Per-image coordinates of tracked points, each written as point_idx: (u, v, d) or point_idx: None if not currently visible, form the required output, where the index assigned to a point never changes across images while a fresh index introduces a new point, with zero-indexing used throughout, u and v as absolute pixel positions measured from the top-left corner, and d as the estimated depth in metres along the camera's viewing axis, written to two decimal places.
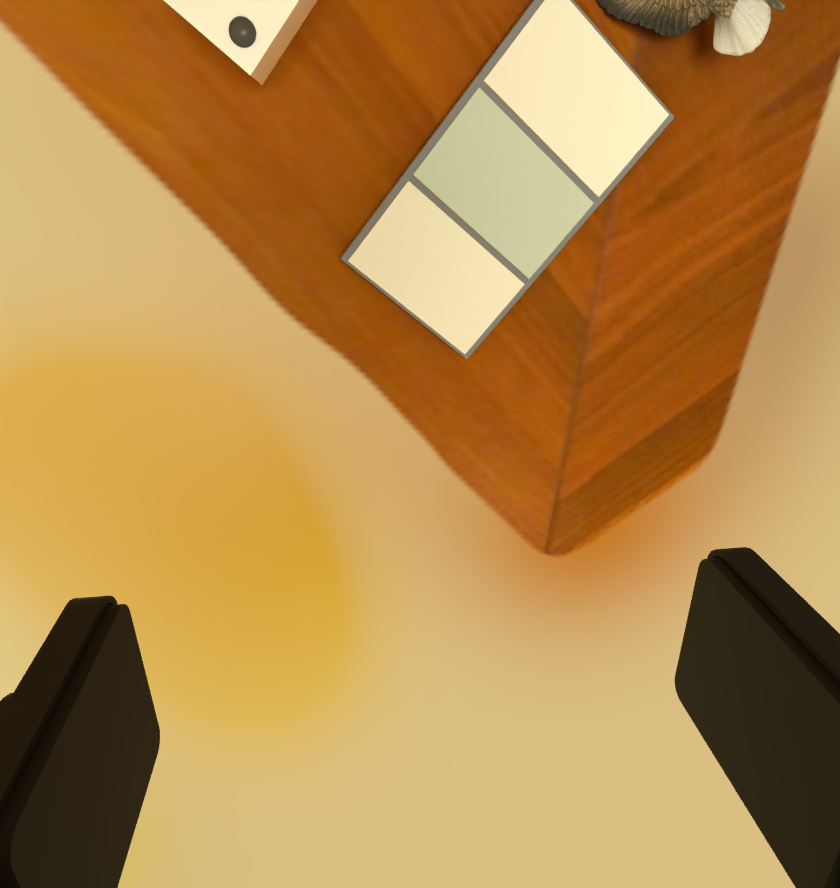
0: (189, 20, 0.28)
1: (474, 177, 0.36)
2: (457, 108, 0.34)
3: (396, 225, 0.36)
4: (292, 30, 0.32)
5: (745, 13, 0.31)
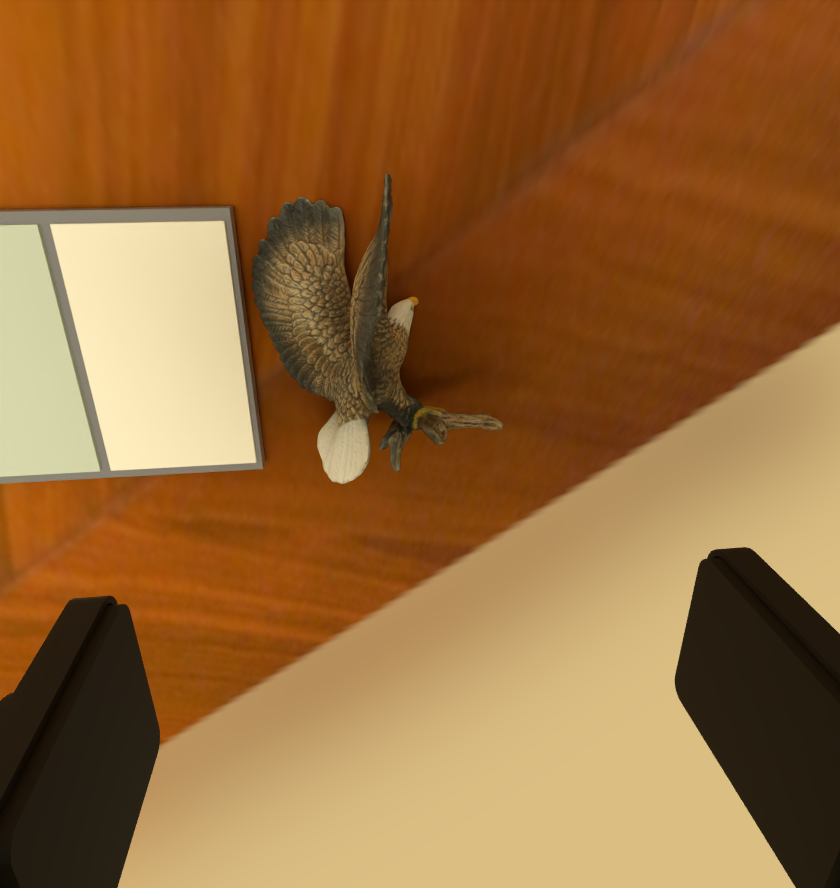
0: None
1: None
2: None
3: None
4: None
5: (351, 439, 0.22)
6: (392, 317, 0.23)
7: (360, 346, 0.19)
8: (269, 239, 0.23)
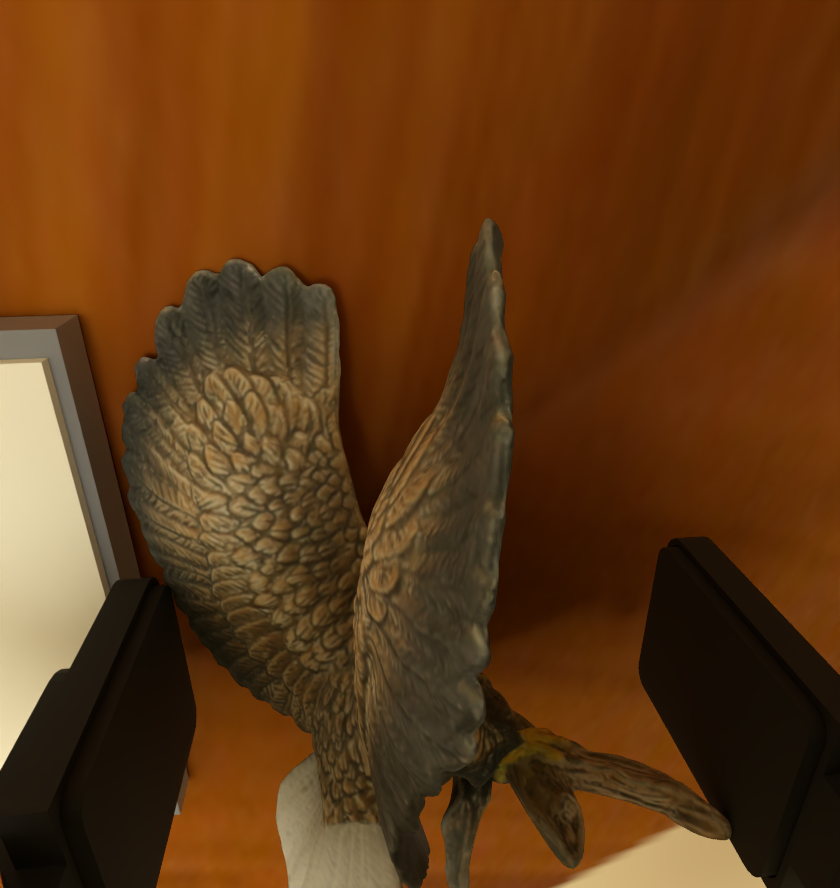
0: None
1: None
2: None
3: None
4: None
5: (353, 865, 0.09)
6: None
7: (388, 782, 0.06)
8: (159, 359, 0.09)
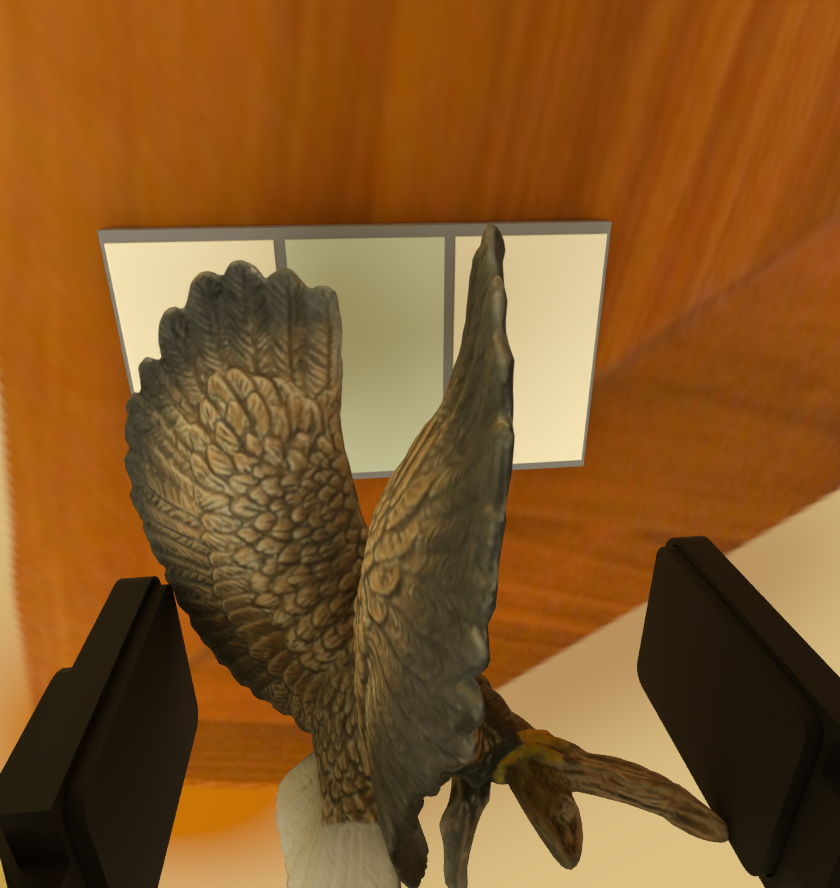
0: None
1: (350, 317, 0.23)
2: (401, 230, 0.22)
3: (209, 270, 0.22)
4: None
5: (352, 865, 0.09)
6: None
7: (387, 782, 0.06)
8: (163, 360, 0.09)
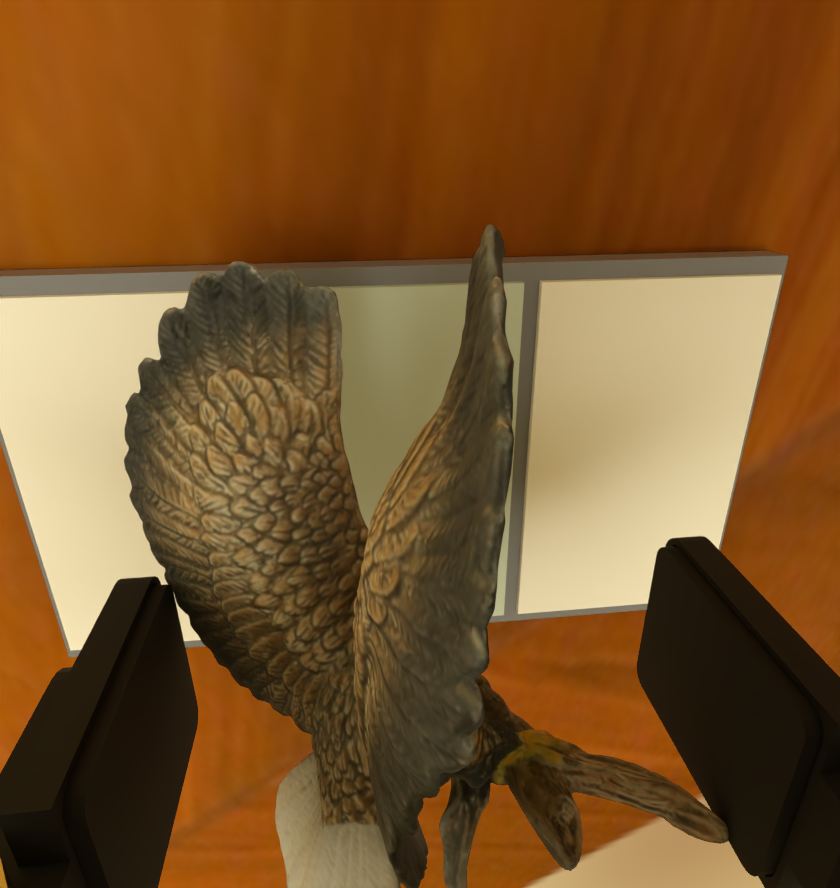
0: None
1: (369, 408, 0.15)
2: (454, 273, 0.14)
3: (140, 340, 0.13)
4: None
5: (351, 866, 0.09)
6: None
7: (386, 782, 0.06)
8: (162, 360, 0.09)
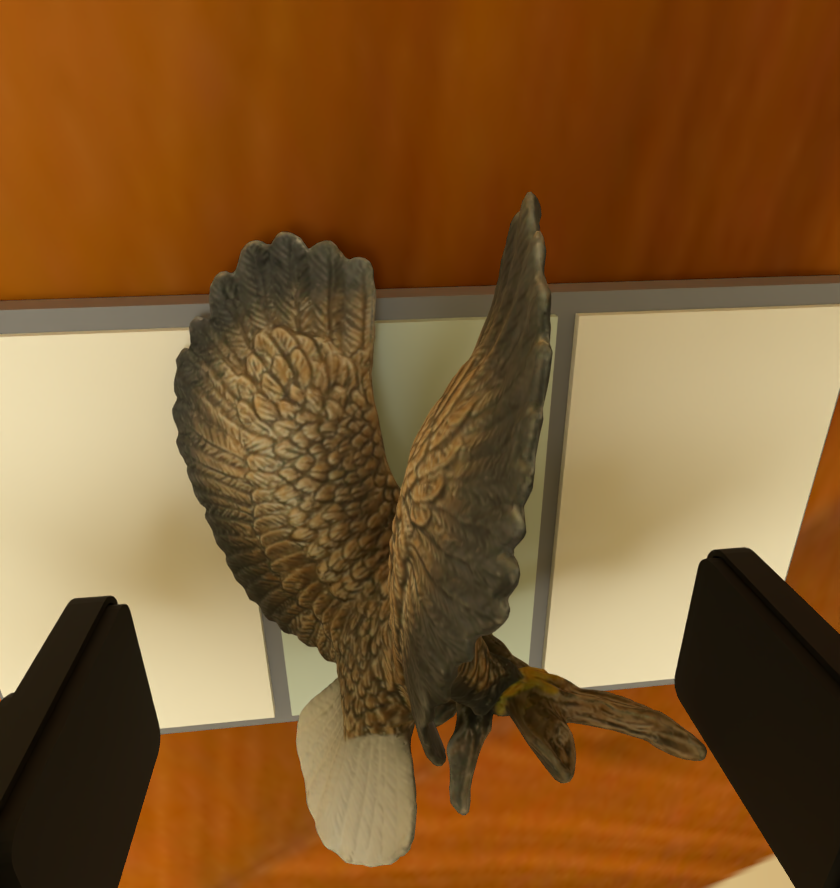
0: None
1: None
2: (474, 305, 0.11)
3: (92, 388, 0.11)
4: None
5: (371, 774, 0.10)
6: None
7: (424, 660, 0.07)
8: (212, 318, 0.10)
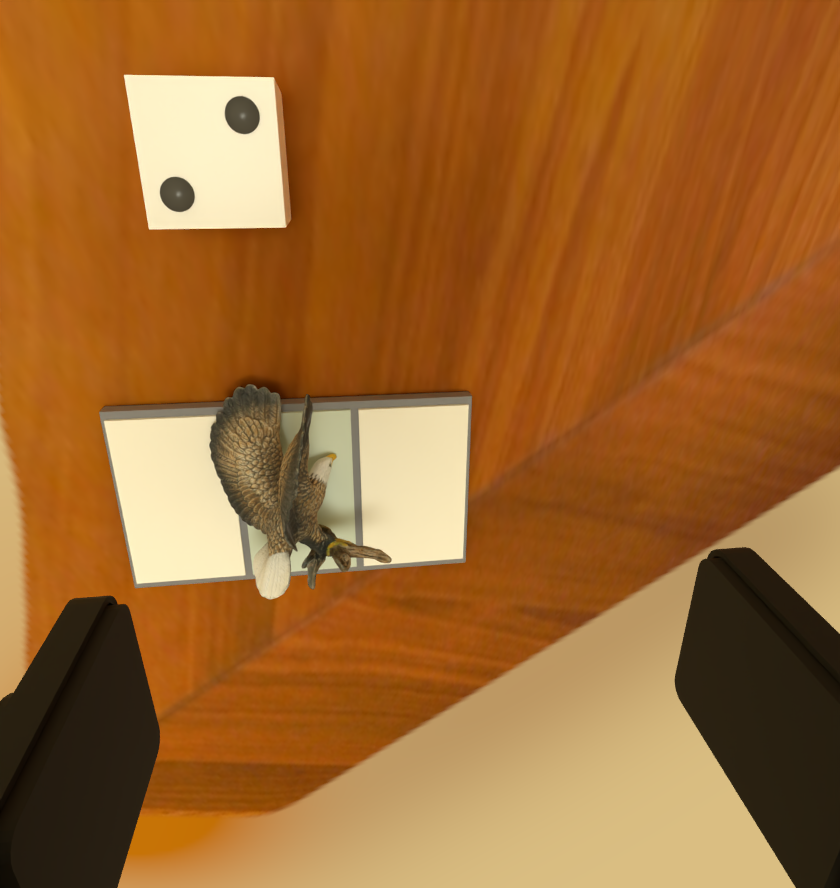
0: (135, 133, 0.22)
1: None
2: (319, 406, 0.31)
3: (179, 436, 0.31)
4: None
5: (277, 566, 0.30)
6: (314, 473, 0.31)
7: (283, 511, 0.27)
8: (224, 413, 0.30)
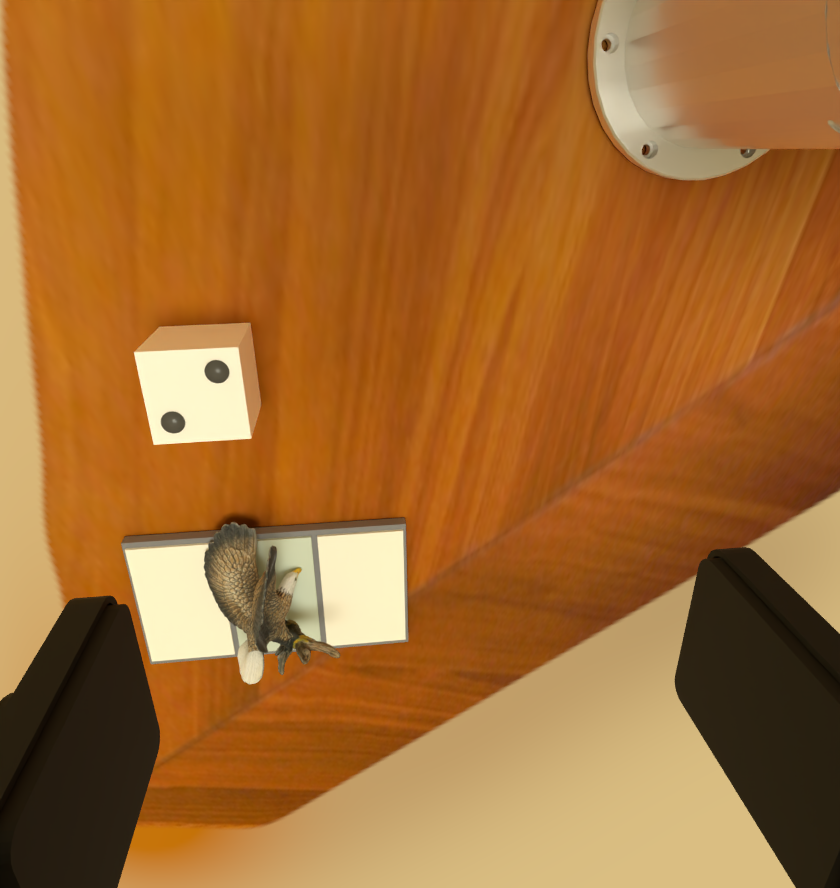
0: (142, 386, 0.32)
1: (261, 576, 0.42)
2: (287, 534, 0.41)
3: (181, 559, 0.41)
4: None
5: (254, 661, 0.40)
6: (283, 587, 0.41)
7: (254, 630, 0.37)
8: (214, 543, 0.40)
